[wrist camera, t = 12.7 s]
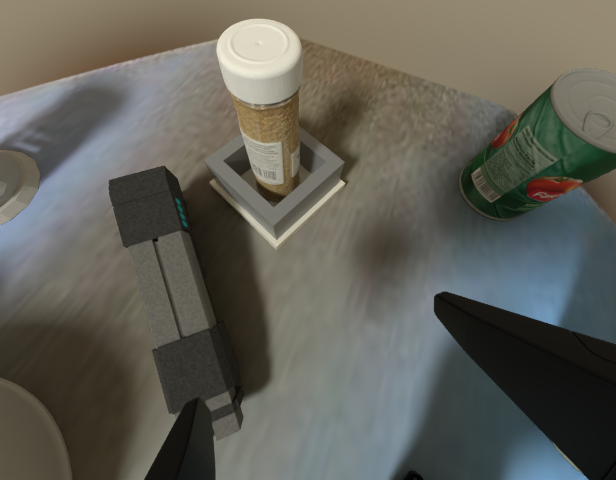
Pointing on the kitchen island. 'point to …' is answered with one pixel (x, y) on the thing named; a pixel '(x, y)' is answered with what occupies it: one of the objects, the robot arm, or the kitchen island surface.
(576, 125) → the canned tomato
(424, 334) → the kitchen island surface
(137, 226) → the gun
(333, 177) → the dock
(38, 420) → the kettle
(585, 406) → the robot arm
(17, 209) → the french press
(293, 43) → the sprinkles bottle
